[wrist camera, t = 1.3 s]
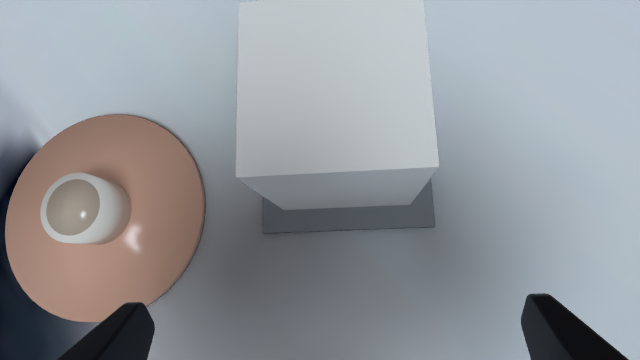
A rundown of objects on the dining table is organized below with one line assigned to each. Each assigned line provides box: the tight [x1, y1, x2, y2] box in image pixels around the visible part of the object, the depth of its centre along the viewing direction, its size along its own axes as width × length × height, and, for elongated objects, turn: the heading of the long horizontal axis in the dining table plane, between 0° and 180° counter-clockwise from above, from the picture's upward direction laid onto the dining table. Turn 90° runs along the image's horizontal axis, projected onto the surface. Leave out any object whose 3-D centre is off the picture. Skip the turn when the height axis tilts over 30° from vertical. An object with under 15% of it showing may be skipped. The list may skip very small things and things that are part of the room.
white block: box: [236, 0, 439, 210], centre depth 19 cm, size 7×7×9 cm
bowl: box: [40, 173, 132, 245], centre depth 23 cm, size 4×4×2 cm
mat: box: [263, 178, 435, 233], centre depth 24 cm, size 10×10×1 cm
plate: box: [5, 115, 205, 322], centre depth 25 cm, size 13×13×1 cm
